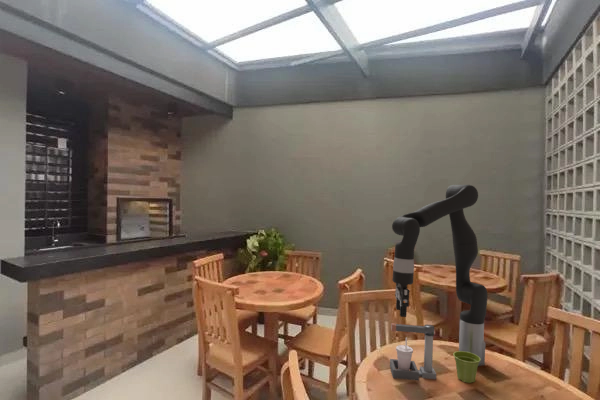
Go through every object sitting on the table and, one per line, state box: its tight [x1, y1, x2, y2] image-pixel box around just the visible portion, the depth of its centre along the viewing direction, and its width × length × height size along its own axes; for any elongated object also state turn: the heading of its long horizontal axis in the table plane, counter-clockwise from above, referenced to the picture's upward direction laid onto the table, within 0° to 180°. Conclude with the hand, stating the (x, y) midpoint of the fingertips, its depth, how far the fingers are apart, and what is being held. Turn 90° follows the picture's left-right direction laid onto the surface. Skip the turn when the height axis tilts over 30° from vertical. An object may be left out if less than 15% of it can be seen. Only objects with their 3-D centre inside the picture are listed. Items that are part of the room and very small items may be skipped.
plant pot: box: [452, 350, 481, 384], centre depth 132 cm, size 9×9×9 cm
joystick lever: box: [390, 322, 435, 337], centre depth 135 cm, size 16×4×3 cm, turn 82°
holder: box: [389, 334, 437, 381], centre depth 135 cm, size 16×9×16 cm, turn 82°
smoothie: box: [395, 337, 414, 370], centre depth 135 cm, size 6×6×14 cm
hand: (400, 313), depth 131 cm, fingers open, 8 cm apart
